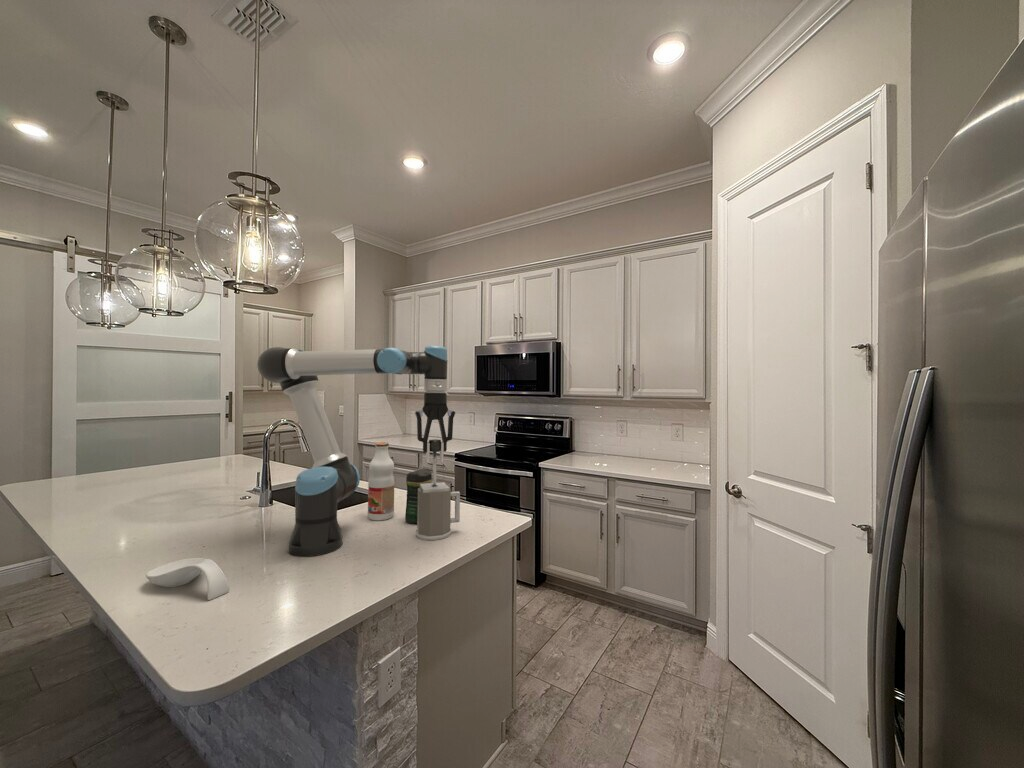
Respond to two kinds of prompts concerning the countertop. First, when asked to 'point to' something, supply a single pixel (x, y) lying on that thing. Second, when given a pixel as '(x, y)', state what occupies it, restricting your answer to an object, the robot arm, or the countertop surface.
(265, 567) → the countertop surface
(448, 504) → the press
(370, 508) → the fruit juice
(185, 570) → the spoon rest
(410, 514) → the coffee jar
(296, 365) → the robot arm
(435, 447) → the plunger
